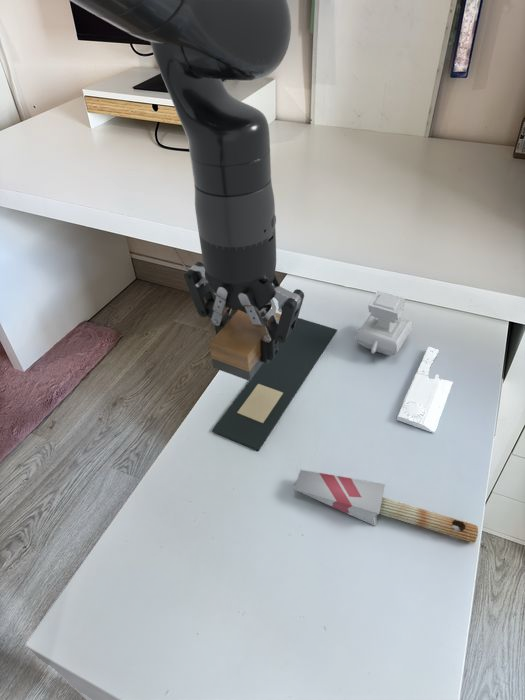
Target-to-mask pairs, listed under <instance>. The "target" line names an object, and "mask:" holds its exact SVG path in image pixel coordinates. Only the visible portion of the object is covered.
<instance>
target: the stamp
mask: <svg viewBox="0 0 525 700" xmlns="http://www.w3.org/2000/svg"><path fill="white" fill-rule="evenodd" d="M405 303H406V297H404V296H403V297H402V296H399V295H395V294H391V293H387V292H384V291H379V290H377V291H376V293H375V295H374V296H373V298H372V299H371V301H370V302H369V304H368V313H370V315H369V316H368V317H367V319H366V320H365V321H364V323H363V325H362V326H361V327H360V329H358V331H357V333H356V334H355V336H354V339H355V340H356V342H358V343H359V344H360V345H362V347H363V348H366V349H368V350H370V352H371V354H375V353H376V352H377V353H380V354H382V355H386V356H388V357H391V356H394V355H396V354H397V353H398V352H399V351H400V349H401V347H402V345H403V344H404V342H405V340H406V339H407V338H408V336H409V334H410V333H411V331H412V329H413V322H412V321H411V320H407V319H404V318H402V317H401V315H402V312H403V311H404V307H405Z"/></svg>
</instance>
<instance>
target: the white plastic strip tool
mask: <svg viewBox="0 0 525 700" xmlns="http://www.w3.org/2000/svg"><path fill="white" fill-rule="evenodd" d="M425 350H426V351H425V353H424V355H423V357H422V360H421V362H420V364H419V366H418V369H417V370H416V373H415V375H414V377H413V379H412V381H411V384H410V385H409V387H408V390H407V391H406V394H405V395H404V399H403V401H402V404H401V407H400V410H399V412H398V414H397V417H396V421H398V422H402V423H404V424H407V425H409V426H412V427H415V428H418V429H420V430H424V431H425V432H426V431H427V432H429V433H433V434H435V433H436V430H437V428H438V425H439V422H440V421H441V420H440V419H441V418H442V414H443V411H444V408H445V406H446V403H447V401H448V398H449V395H450V392H451V390H452V386H453V384H454V381H451V380H447V379H442V378H440V375H439V374H435V376H434V378H430V377H429V373H430V369H431V366H432V364H433V362H434V361H435V359H436V358H437V356H438V355H439V352H440V349H439V348H436V347H435V348H434V347H432V346H427V348H426V349H425Z"/></svg>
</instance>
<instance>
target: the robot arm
mask: <svg viewBox="0 0 525 700" xmlns="http://www.w3.org/2000/svg"><path fill="white" fill-rule="evenodd" d="M69 1H70V2H72V3H73V4H75V5H77V6H79V7H80V8H82V9H84V10H86V11H87V12H89V13H91V14H92V15H95V16H96V17H98V18H100V19H102V20H103V21H105V22H107V23H109V24H110V25H112V26H114V27H116V28H117V29H120V30H121V31H123V32H125V33H127V34H129V35H131V36H133V37H135V38H138V39H140V40H144V41H147V42H150V45H151V46H150V47H151V49H152V53H153V57H154V59H155V62H156V65H157V68H158V70H159V73H160V75H161V78H162V80H163V82H164V85H165V87H166V89H167V92H168V94H169V98H170V99H171V102H172V104H173V107H174V110H175V112H176V114H177V117H178V119H179V122H180V124H181V126H182V128H183V131H184V133H185V136H186V139H187V143H188V150H189V156H190V163H191V170H192V178H193V184H194V207H195V208H194V209H195V211H194V212H195V217H196V225H197V230H198V237H199V243H200V250H201V251H200V252H201V257H202V262H201V261H197V262H195V264H193V265H192V266H191V267H190V268H189V269H187V270H186V271H185V273H183V279H184V280H185V284H186V286H187V288H188V291H189V293H190V296H191V298H192V302H193V304H194V306H195V309H196V312H197V314H198V315H199V316H200V317H201V318H206V317H207V318H209V319H210V320H211V321H210V322H211V323H212V324H213V325H214V330H215V331H214V332H215V336H216V335H217V333H218V332H219V331H220V330H221V329H222V328H223V327H224V326H225V325H226V323H227V322H228V321H229V320H230V319H231V318H232V317H233V315H230V314H232V313H231V312H232V310H235V311H236V310H237V311H238V310H241V311H243V312H244V313H247V314H248V316H249V319H250V321H251V323H252V325H253V326H256V327H257V329H258V331H259V333H260V336H261V339H260V343H261V359H262V362H264V363H267V364H268V363H269V362H270V360H271V361H272V360H273V359H274V357H275V356H276V355H277V353H278V351H279V345H278V344H279V342H280V343H284V342H285V341H286V339H287V337H288V336H289V334H290V333H291V332H292V331H293V330H294V328H295V325H296V322H297V319H298V318H299V315H300V312H301V308H302V305H303V301H304V300H305V294H304V292H303V291H302V290H301V289H295V290H293V292H292V291H290V290H289V289H286V288H284V287H282V286H281V284H280V281H279V279H278V276H277V274H276V270H277V269H276V268H277V236H276V234H277V233H276V224H277V216H276V205H275V195H274V189H273V184H272V164H271V138H270V126H269V122H268V120H267V117H266V116H265V114H264V113H263V112H262V111H261V110H259V109H258V108H256V107H254V106H252V105H250V104H247V103H245V102H243V101H240V100H239V99H237V98H236V97H234V96H233V95H231V94H230V93H229V92H228V90H227V88H226V87H225V85H224V81H223V80H225V81H235V82H249V83H250V82H256V81H260V80H263V79H265V78H267V77H269V76H270V75H271V74H273V72H275V71H276V70H277V69H278V68H279V66H280V65H281V64H282V62H283V60H284V58H285V56H286V54H287V53H288V52H287V51H288V49H289V46H290V43H291V36H292V19H291V18H292V17H291V11H290V6H289V3H288V0H69ZM274 299H275V300H276V301H277V305H278V309H277V306H276V304H275V301H274ZM259 311H260V312H259ZM276 311H278V312H279V313H280V314H281V316H280V320H279V321H278V318H277V316H276V313H277V312H276ZM267 322H268V324H267Z"/></svg>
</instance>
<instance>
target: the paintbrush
mask: <svg viewBox="0 0 525 700" xmlns="http://www.w3.org/2000/svg"><path fill="white" fill-rule="evenodd" d="M385 487H386V483H381V482H375V481H371V480H366V479H365V480H364V479H358V478H352V477H346V476H340V475H335V474H328V473H324V472H317V471H311V470H305V469H299V473H298V476H297V479H296V482H295V485H294V487H293V490H294V491H296V492H299V493H300V494H304V496H305V495H306V496H307V497H309V498H312V499H314V500H316V501H319V502H321V503H323V504H324V505H327V506H329V507H331V508H334V509H336V510H339V511H341V512H343V513H345V514H348V515H350V516H352V517H354V518H356V519H359V520H361V521H363V522H366V523H367V524H370V525H372V526H374V527H376V526H377V521H378V517H379V515H382V516H385V517H388V518H392V519H395V520H399V521H402V522H404V523H409V524H411V525H416V526H417V527H422V528H425V529H428V530H431V531H434V532H437V533H440V534H444V535H447V536H450V537H452V538H457V539H459V540H463V541H466V542H469V543H471V544H475V543H476V541H477V538H478V535H479V526H478V525H476V524H474V523H470V522H467V521H464V520H460V519H457V518H454V517H450V516H446V515H443V514H440V513H437V512H434V511H430V510H427V509H423V508H419V507H416V506H413V505H410V504H407V503H404V502H401V501H397V500H394V499H390V498H387V497H384V492H385ZM454 526H455V527H457V528H459V530H460V531H457V530H455V527H454Z"/></svg>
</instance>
